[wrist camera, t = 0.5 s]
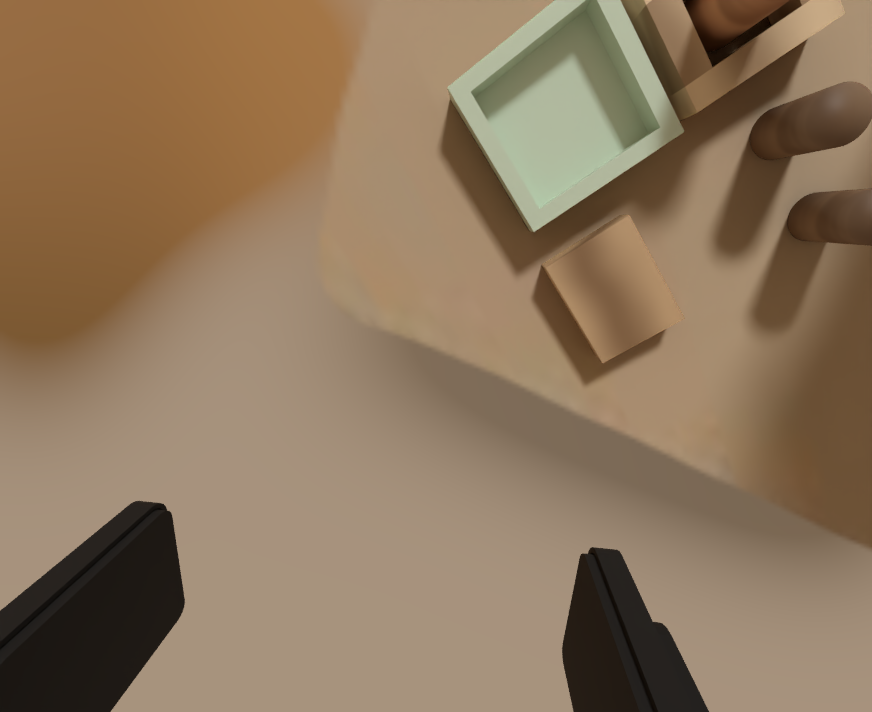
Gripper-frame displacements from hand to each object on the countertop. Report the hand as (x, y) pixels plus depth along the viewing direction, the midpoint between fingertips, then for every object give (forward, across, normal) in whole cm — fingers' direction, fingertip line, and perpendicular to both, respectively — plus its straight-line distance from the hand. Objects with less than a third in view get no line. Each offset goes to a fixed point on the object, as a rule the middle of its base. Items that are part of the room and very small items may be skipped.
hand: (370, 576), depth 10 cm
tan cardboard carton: (+24, -12, -4) cm, 27 cm away
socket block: (+23, -15, -20) cm, 34 cm away
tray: (+24, -7, -15) cm, 29 cm away
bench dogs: (+23, -22, -12) cm, 34 cm away
